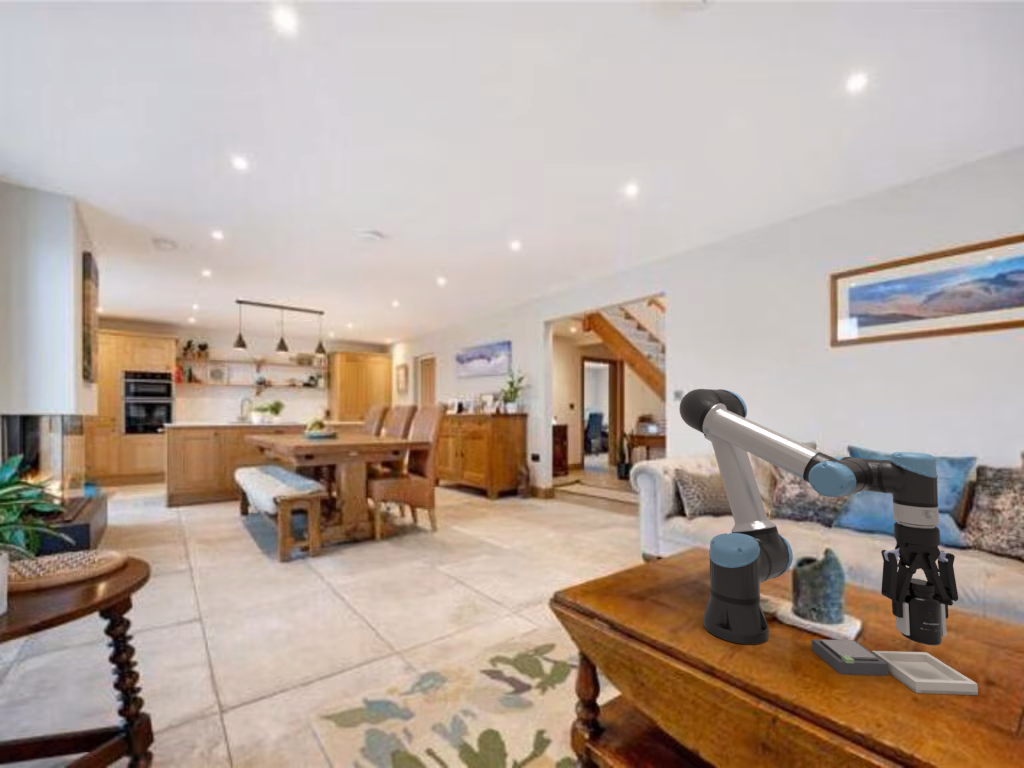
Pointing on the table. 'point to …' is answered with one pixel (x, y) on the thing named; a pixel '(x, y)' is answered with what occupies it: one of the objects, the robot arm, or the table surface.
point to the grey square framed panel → (850, 662)
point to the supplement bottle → (924, 613)
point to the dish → (926, 673)
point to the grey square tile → (848, 649)
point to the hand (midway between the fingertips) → (920, 632)
